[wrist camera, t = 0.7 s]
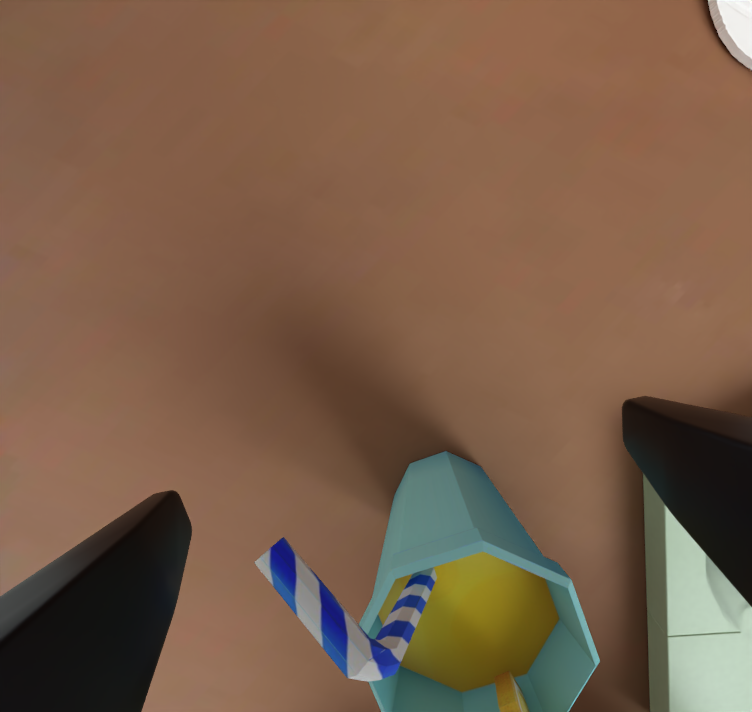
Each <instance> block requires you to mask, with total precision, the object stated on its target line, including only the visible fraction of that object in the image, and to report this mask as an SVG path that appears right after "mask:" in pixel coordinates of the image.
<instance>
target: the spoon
mask: <svg viewBox="0 0 752 712" xmlns="http://www.w3.org/2000/svg"><path fill="white" fill-rule="evenodd" d="M708 5H709V8H710V9H709V10H710V13H711V14H710V15H711V17H712V20H713V21H714V22H713V23H714V26H715V28H716V29H717V32H718V36H719V37H720V39H721V40H722V41H723V43H724V44H725V46H726V47H727V49H728V50H729V52H730V53H731V54H732V56H734V57H735V59H736V58H737V60H738V61H739V63H740V62H741V63H743V65H745V66H746V67H748V68H750V70H752V0H708Z"/></svg>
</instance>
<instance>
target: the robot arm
mask: <svg viewBox="0 0 752 712" xmlns="http://www.w3.org/2000/svg"><path fill="white" fill-rule="evenodd" d="M622 430H623V442H624V445H625V447H626V449H627V451H628V452H629V454H630V455H631V457H632V458H633V459H634V461H635V462H636V464H637V465H638V467H639V468H640V470H641V471H642V472H643V474H644V475H645V477H646V478H647V480H648V481H649V483H650V484H651V486H652V487H653V488H654V490H655V491H656V493H657V494H658V496H659V497H660V499H661V500H662V501H663V503H664V504H665V506H666V507H667V508H668V510H669V511H670V512H671V513H672V515H673V516H674V517H675V518H676V520H677V521H678V522H679V523H680V524H681V526H682V527H683V528H684V529H685V530H686V531H687V533H688V534H689V535H690V536H691V537H692V538H693V540H694V541H695V542H696V543H697V544H698V545H699V547H700V548H701V549H702V550H703V551H704V552H705V554H706V555H707V556H708V557H709V558H710V559H711V561H712V562H713V563H714V564H715V565H716V566H717V568H718V569H719V570H720V571H721V572H722V573H723V574H724V576H725V577H726V578H727V579H728V580H729V581H730V583H731V584H732V585H733V586H734V587H735V588H736V590H737V591H738V592H739V593H740V594H741V595H742V597H743V598H744V599H745V600H746V601H747V602H748V604H749V605H750V606H751V607H752V417H748V416H743V415H738V414H733V413H728V412H723V411H718V410H713V409H708V408H703V407H698V406H693V405H688V404H683V403H678V402H673V401H668V400H663V399H658V398H653V397H648V396H642V397H637V398H632V399H628V400H626V401H625V402H624V403H623V406H622ZM191 536H192V527H191V522H190V520H189V517H188V515H187V512H186V510H185V507H184V505H183V502H182V500H181V497H180V496H179V494H178V493H177V492H176V491H174V490H170V491H165V492H160V493H156V494H153V495H152V496H150V497H149V498H147V499H146V500H144V501H143V502H141V503H140V504H138V505H137V506H135V507H134V508H132V509H131V510H129V511H128V512H126V513H125V514H123V515H122V516H120V517H119V518H117V519H116V520H114V521H113V522H111V523H110V524H108V525H107V526H105V527H104V528H102V529H101V530H99V531H98V532H96V533H95V534H93V535H92V536H90V537H89V538H87V539H86V540H84V541H83V542H81V543H80V544H78V545H77V546H75V547H74V548H72V549H71V550H69V551H68V552H66V553H65V554H63V555H62V556H60V557H59V558H57V559H56V560H54V561H53V562H51V563H50V564H48V565H47V566H45V567H44V568H42V569H41V570H39V571H38V572H36V573H35V574H33V575H32V576H30V577H29V578H27V579H26V580H24V581H23V582H21V583H20V584H18V585H17V586H15V587H14V588H12V589H11V590H9V591H8V592H6V593H5V594H4V595H2V596H1V597H0V712H141V711H142V708H143V705H144V702H145V699H146V696H147V693H148V690H149V687H150V684H151V681H152V678H153V675H154V672H155V669H156V666H157V663H158V660H159V657H160V654H161V651H162V648H163V644H164V641H165V638H166V635H167V632H168V629H169V626H170V623H171V620H172V617H173V614H174V610H175V607H176V603H177V599H178V595H179V591H180V586H181V582H182V577H183V572H184V568H185V563H186V559H187V554H188V550H189V545H190V541H191Z"/></svg>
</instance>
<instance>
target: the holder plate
mask: <svg viewBox="0 0 752 712" xmlns="http://www.w3.org/2000/svg"><path fill="white" fill-rule="evenodd" d="M643 489H644V523H645V557H646V591H647V609H648V610H647V625H648V659H649V693H650V712H752V607H751V606H750V605H749V604H748V602H747V601H746V600H745V599H744V598H743V597H742V595H741V594H740V593H739V592H738V591H737V590H736V588H735V587H734V586H733V585H732V584H731V583H730V581H729V580H728V579H727V578H726V577H725V576H724V574H723V573H722V572H721V571H720V570H719V569H718V568H717V566H716V565H715V564H714V563H713V562H712V561H711V559H710V558H709V557H708V556H707V555H706V554H705V552H704V551H703V550H702V549H701V548H700V547H699V545H698V544H697V543H696V542H695V541H694V540H693V538H692V537H691V536H690V535H689V534H688V533H687V531H686V530H685V529H684V528H683V527H682V526H681V524H680V523H679V522H678V521H677V520H676V518H675V517H674V516H673V515H672V513H671V512H670V511H669V510H668V508H667V507H666V506H665V504H664V503H663V501H662V500H661V499H660V497H659V496H658V494H657V493H656V491H655V490H654V488H653V487H652V486H651V484H650V483H649V481H648V480H647V478H646V477H645V475H644V474H643Z"/></svg>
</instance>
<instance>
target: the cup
mask: <svg viewBox="0 0 752 712" xmlns="http://www.w3.org/2000/svg"><path fill="white" fill-rule="evenodd" d="M254 563H255V564H256V565H257V567H258V568H259V569H260V570H261V572H262V573H263V574H264V575H265V577H266V578H267V579H268V580H269V582H270V583H271V584H272V585H273V587H274V588H275V589H276V590H277V592H278V593H279V594H280V595H281V597H282V598H283V599H284V600H285V601H286V603H287V604H288V605H289V606H290V608H291V609H292V610H293V611H294V613H295V614H296V615H297V616H298V618H299V619H300V620H301V621H302V623H303V624H304V625H305V626H306V628H307V629H308V630H309V631H310V633H311V634H312V635H313V636H314V638H315V639H316V640H317V641H318V642H319V644H320V645H321V646H322V647H323V649H324V650H325V651H326V652H327V654H328V655H329V656H330V657H331V659H332V660H333V661H334V662H335V664H336V665H337V666H338V667H339V669H340V670H341V671H342V672H343V674H344V675H345V676H346V677H347V678H350V679H356V680H362V681H368V682H369V685H370V687H371V689H372V691H373V694H374V696H375V698H376V701H377V703H378V705H379V707H380V710H381V712H569V710H570V709H571V707H572V705H573V704H574V702H575V701H576V699H577V697H578V696H579V694H580V693H581V691H582V689H583V688H584V686H585V685H586V683H587V681H588V680H589V678H590V676H591V675H592V673H593V672H594V670H595V668H596V667H597V665H598V664H599V662H600V659H599V657H598V654H597V651H596V648H595V645H594V642H593V640H592V637H591V634H590V631H589V628H588V625H587V623H586V620H585V617H584V614H583V611H582V608H581V606H580V603H579V600H578V597H577V594H576V591H575V589H574V586H573V583H572V580H571V579H570V577H569V576H568V575H567V574H566V573H565V571H564V570H563V569H562V568H561V567H560V565H559V564H558V563H557V562H555V561H552V560H550V559H548V558H546V557H544V556H543V555H542V553H541V552H540V551H539V549H538V548H537V546H536V545H535V543H534V542H533V541H532V539H531V538H530V536H529V535H528V533H527V532H526V531H525V529H524V528H523V526H522V525H521V523H520V522H519V521H518V519H517V518H516V516H515V515H514V513H513V512H512V511H511V509H510V508H509V506H508V505H507V503H506V502H505V501H504V499H503V498H502V496H501V495H500V493H499V492H498V491H497V489H496V488H495V486H494V485H493V483H492V482H491V481H490V479H489V478H488V476H487V475H486V473H485V472H484V471H483V469H482V468H481V466H478V465H476V464H474V463H472V462H469V461H467V460H465V459H463V458H460V457H458V456H456V455H454V454H451V453H449V452H447V451H445V452H442V453H439V454H436V455H433V456H430V457H427V458H424V459H421V460H418V461H416V462H413V463H410V464H409V466H408V468H407V470H406V472H405V475H404V477H403V479H402V481H401V483H400V485H399V487H398V489H397V491H396V493H395V495H394V499H393V504H392V508H391V513H390V518H389V522H388V527H387V532H386V536H385V541H384V545H383V550H382V555H381V559H380V564H379V568H378V573H377V578H376V582H375V587H374V592H373V596H372V599H371V601H370V603H369V605H368V607H367V609H366V611H365V613H364V615H363V617H362V619H361V621H360V623H359V625H358V623H357V622H356V621H355V620H354V619H353V618H352V616H351V615H350V614H349V613H348V612H347V611H346V609H345V608H344V607H343V606H342V605H341V604H340V602H339V601H338V600H337V599H336V598H335V597H334V595H333V594H332V593H331V592H330V591H329V590H328V588H327V587H326V586H325V585H324V584H323V583H322V581H321V580H320V579H319V578H318V577H317V576H316V574H315V573H314V572H313V571H312V570H311V569H310V567H309V566H308V565H307V564H306V563H305V562H304V560H303V559H302V558H301V557H300V556H299V555H298V553H297V552H296V551H295V550H294V549H293V548H292V546H291V545H290V544H289V543H288V542H287V541H286V539H285V538H284V537H283V538H281V539H280V540H279V541H278V542H277V543H276V544H274V545H273V546H272V547H271V548H270V549H269V550H268V551H266V552H265V553H264V554H263V555H262V556H261V557H260V558H259V559H257V560H256V561H255V562H254Z"/></svg>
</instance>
